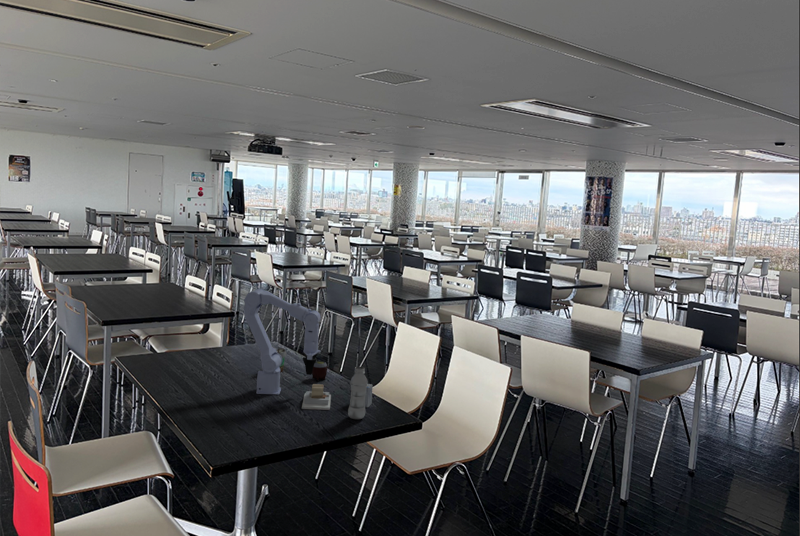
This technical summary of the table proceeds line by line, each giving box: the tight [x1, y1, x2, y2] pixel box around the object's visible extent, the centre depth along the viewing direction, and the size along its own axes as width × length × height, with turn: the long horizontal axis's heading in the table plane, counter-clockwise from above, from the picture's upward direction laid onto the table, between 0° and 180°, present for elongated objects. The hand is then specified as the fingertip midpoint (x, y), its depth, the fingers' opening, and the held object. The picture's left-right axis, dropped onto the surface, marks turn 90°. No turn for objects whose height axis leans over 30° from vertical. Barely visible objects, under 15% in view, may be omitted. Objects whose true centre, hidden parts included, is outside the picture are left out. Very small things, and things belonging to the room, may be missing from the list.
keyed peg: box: [311, 383, 327, 399], centre depth 242 cm, size 4×6×6 cm
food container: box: [276, 347, 287, 374], centre depth 279 cm, size 12×6×10 cm, turn 168°
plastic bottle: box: [347, 366, 369, 420], centre depth 228 cm, size 6×7×20 cm
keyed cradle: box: [301, 390, 332, 411], centre depth 243 cm, size 11×15×3 cm
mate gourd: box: [311, 357, 328, 382], centre depth 271 cm, size 8×8×15 cm
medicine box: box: [365, 383, 374, 408], centre depth 244 cm, size 8×4×9 cm, turn 71°
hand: (309, 371), depth 249 cm, fingers open, 7 cm apart
